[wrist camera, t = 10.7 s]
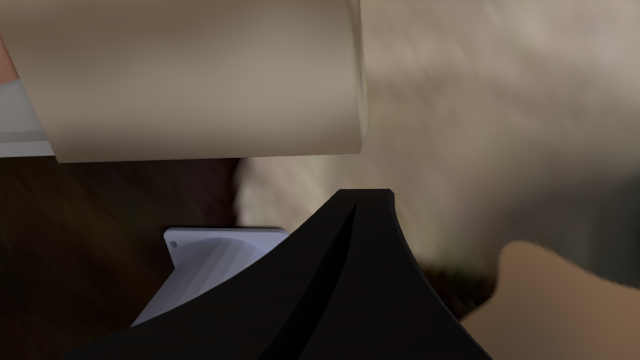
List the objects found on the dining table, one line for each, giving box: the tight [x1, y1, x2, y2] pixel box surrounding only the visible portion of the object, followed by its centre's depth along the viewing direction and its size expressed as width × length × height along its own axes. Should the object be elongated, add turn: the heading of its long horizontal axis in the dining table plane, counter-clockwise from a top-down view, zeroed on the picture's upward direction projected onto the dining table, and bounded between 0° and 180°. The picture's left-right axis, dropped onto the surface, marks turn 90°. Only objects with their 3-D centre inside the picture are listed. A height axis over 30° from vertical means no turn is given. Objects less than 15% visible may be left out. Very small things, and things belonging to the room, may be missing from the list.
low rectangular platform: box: [0, 0, 369, 163], centre depth 18 cm, size 12×15×4 cm
